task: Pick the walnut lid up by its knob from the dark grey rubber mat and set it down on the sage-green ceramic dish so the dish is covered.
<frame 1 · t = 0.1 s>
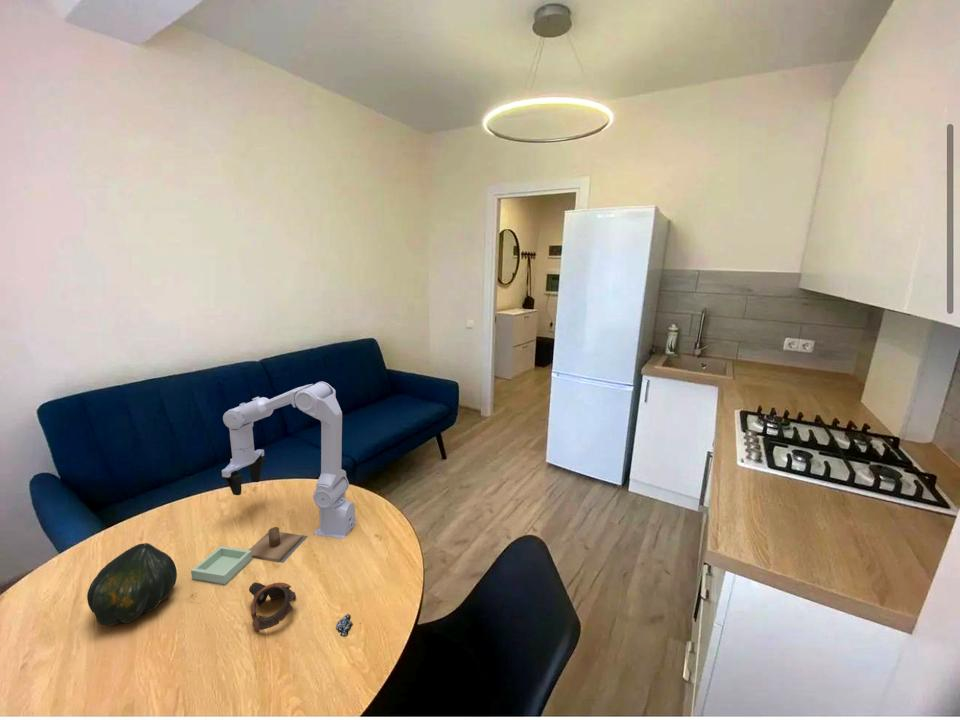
hand: (246, 487, 118), 10 cm above the table, tool pointing down, fingers open, 7 cm apart
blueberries: (347, 628, 84), on the table
pottery mug: (272, 613, 87), on the table
mat: (276, 547, 108), on the table
lid: (275, 546, 107), resting on mat
dish: (223, 570, 98), on the table
squash: (137, 606, 87), on the table
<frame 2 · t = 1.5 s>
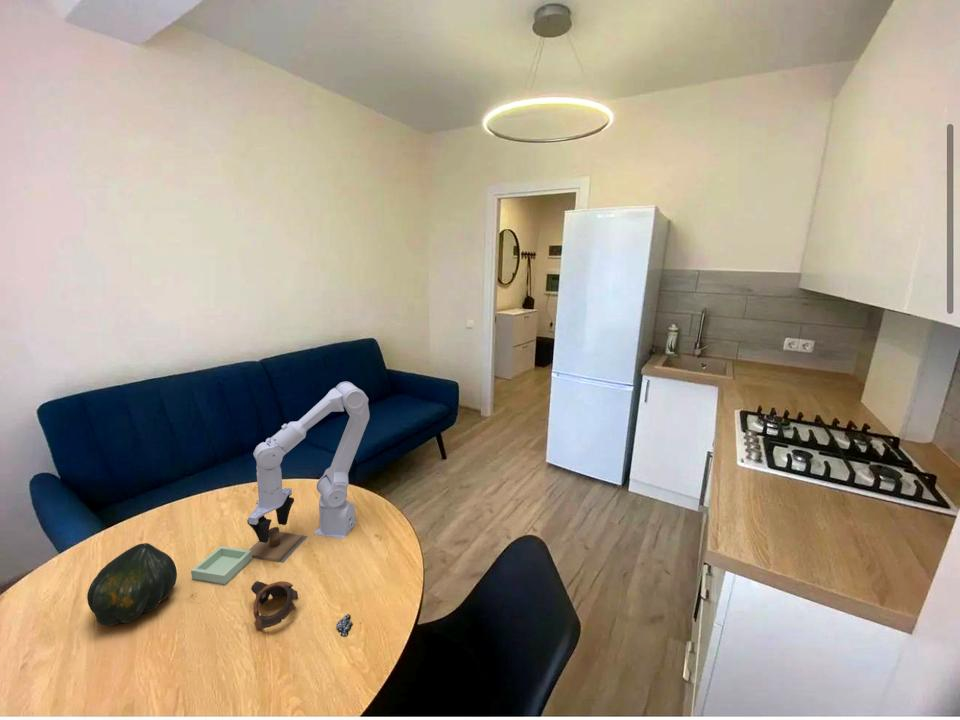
hand: (273, 532, 106), 5 cm above the table, tool pointing down, fingers open, 7 cm apart
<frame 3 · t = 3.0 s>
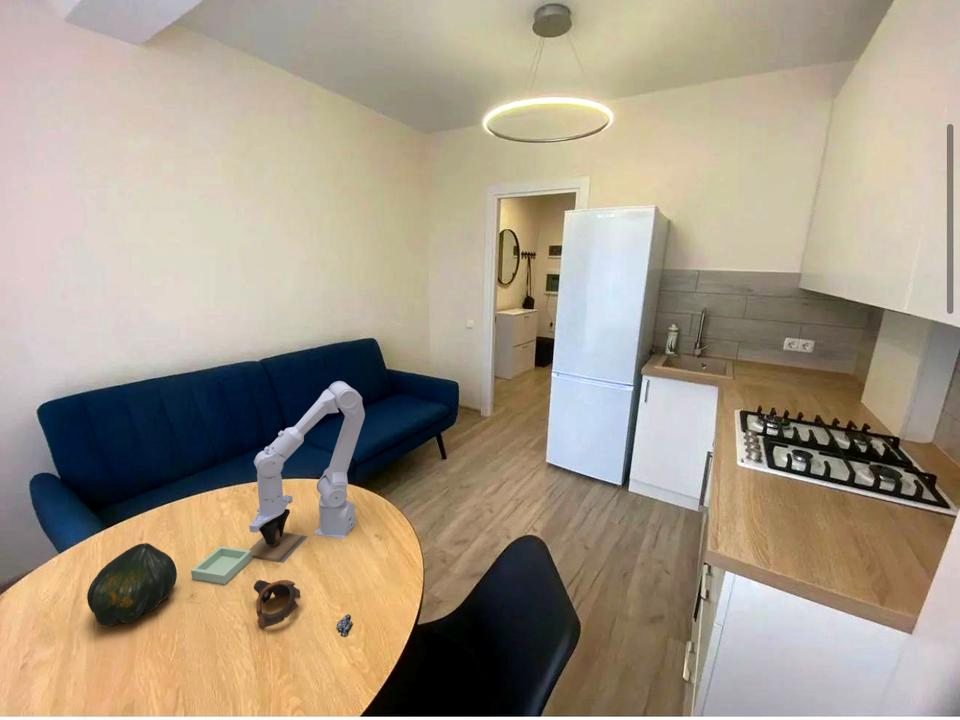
hand: (274, 539, 107), 3 cm above the table, tool pointing down, fingers closed on lid, 3 cm apart
lid: (275, 546, 107), resting on mat, touching gripper
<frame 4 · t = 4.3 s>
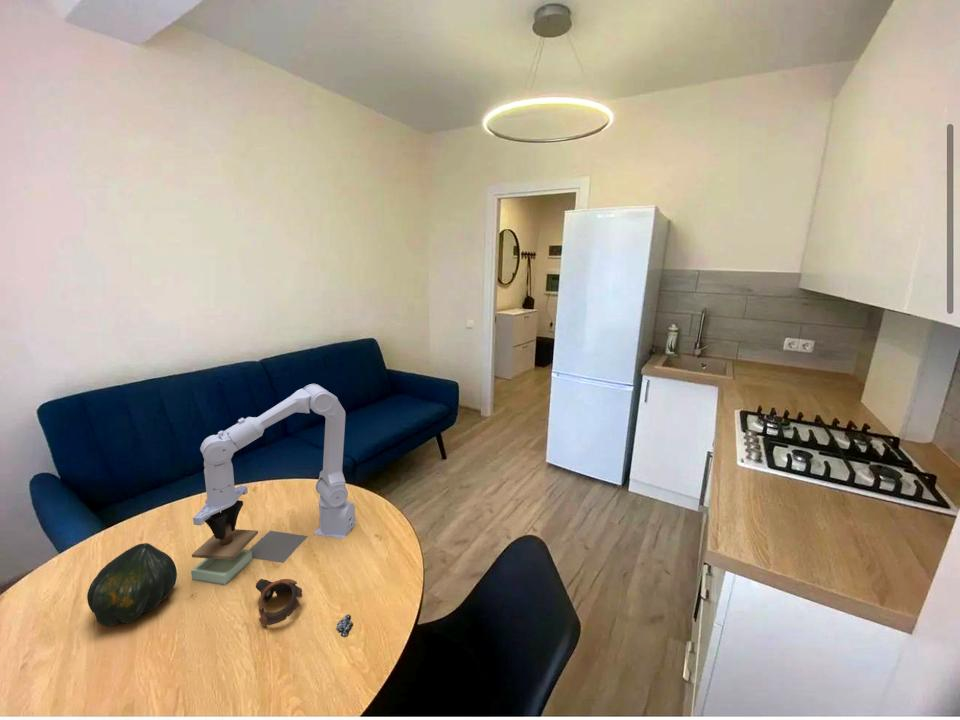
hand: (225, 534, 97), 10 cm above the table, tool pointing down, fingers closed on lid, 3 cm apart
lid: (226, 544, 98), point 7 cm above the table, touching gripper
when the fingers open (6 cm above the table, at t = 5.7 s): lid stays where it is, resting on dish.
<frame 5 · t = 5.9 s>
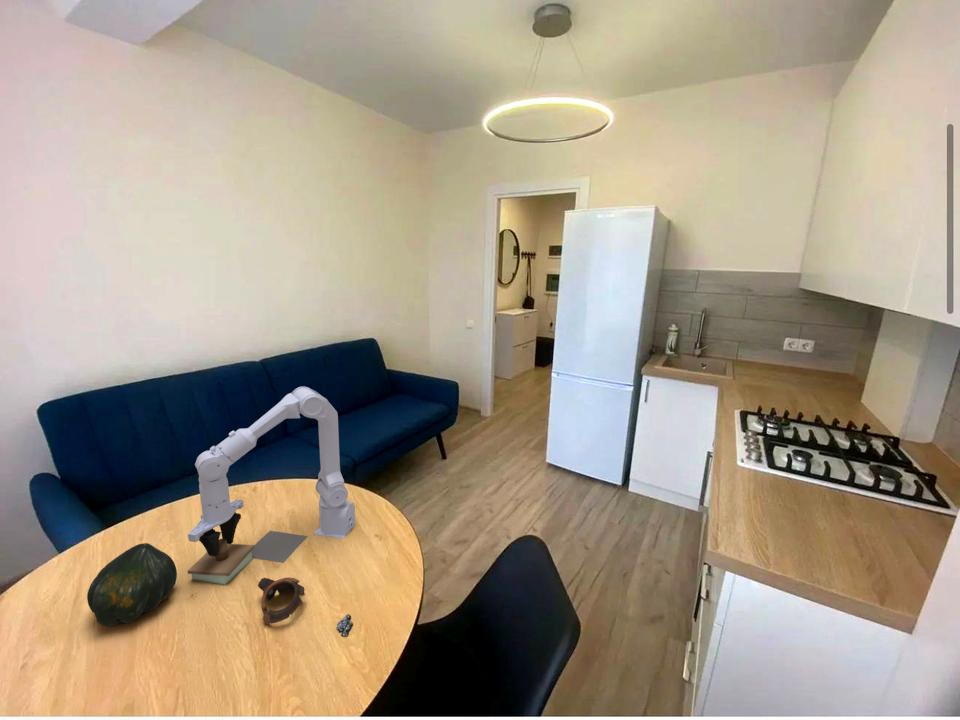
hand: (221, 548, 97), 6 cm above the table, tool pointing down, fingers open, 4 cm apart
lid: (222, 560, 98), point 3 cm above the table, touching dish
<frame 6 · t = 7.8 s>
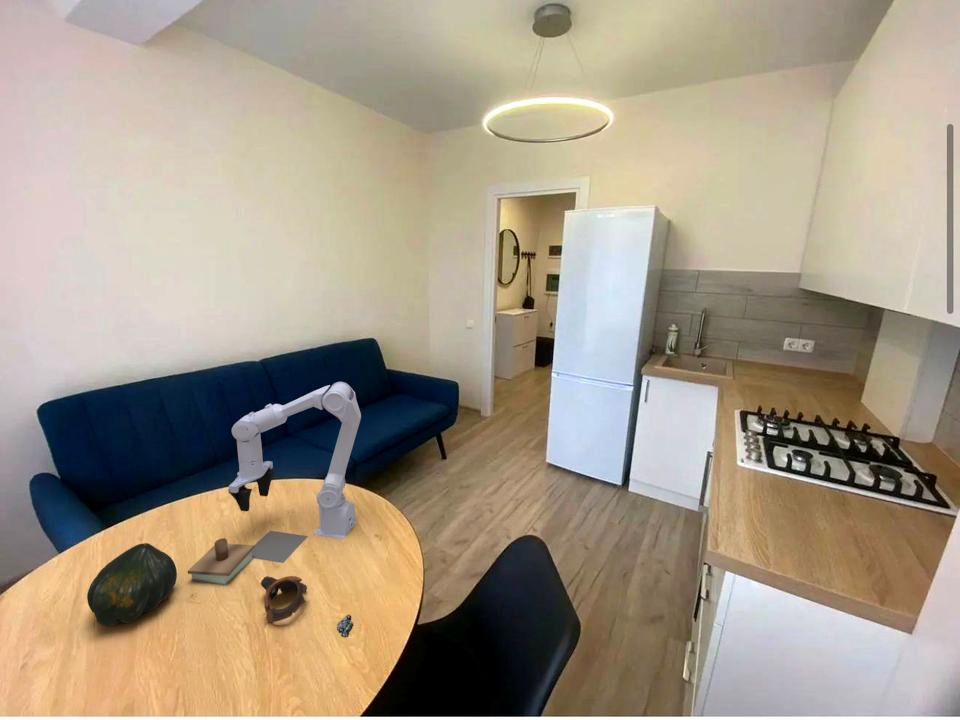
hand: (254, 502, 111), 10 cm above the table, tool pointing down, fingers open, 7 cm apart
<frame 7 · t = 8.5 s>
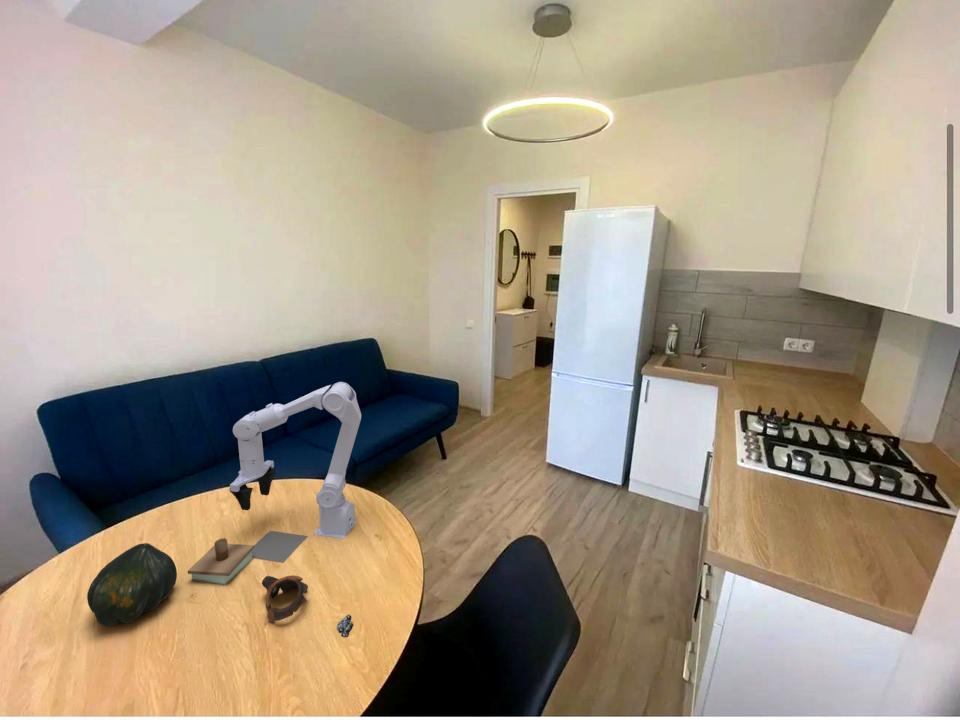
hand: (255, 501, 111), 10 cm above the table, tool pointing down, fingers open, 7 cm apart
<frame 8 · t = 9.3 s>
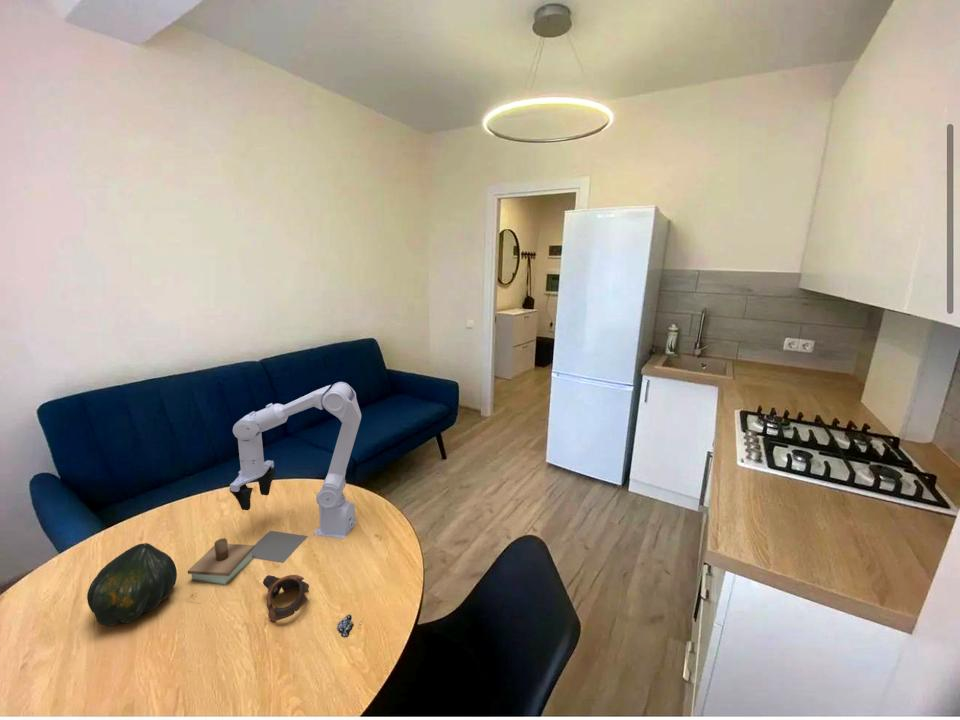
hand: (255, 501, 111), 10 cm above the table, tool pointing down, fingers open, 7 cm apart
at the end: lid 0.1 cm off-centre on the dish, point 3.0 cm above the dish's base; lid tilted 0°; the gripper is holding nothing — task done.
